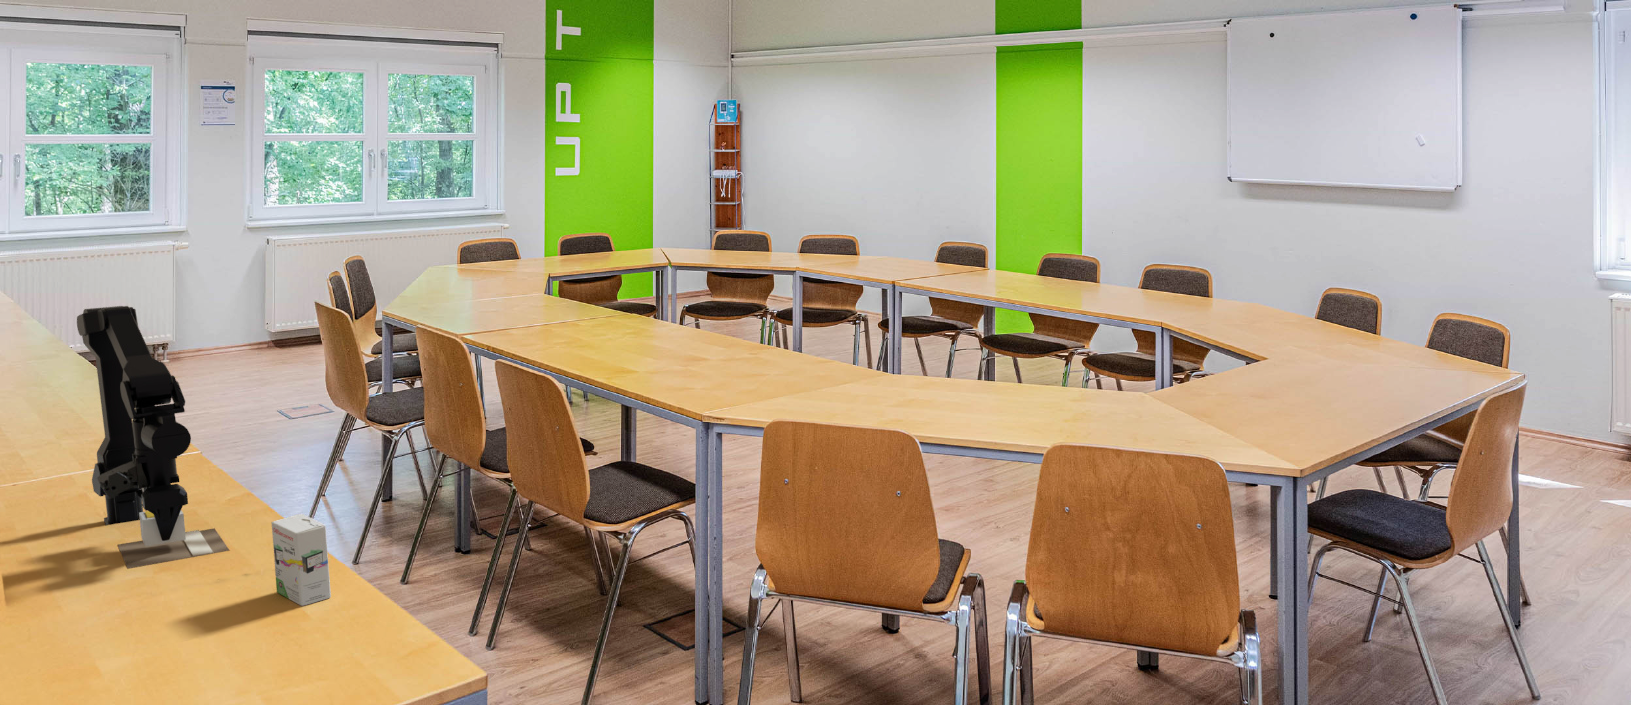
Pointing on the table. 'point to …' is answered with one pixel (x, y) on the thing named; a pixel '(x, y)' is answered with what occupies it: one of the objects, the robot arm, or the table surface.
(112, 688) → the table surface
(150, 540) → the block
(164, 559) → the subfloor board
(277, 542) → the ink box
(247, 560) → the table surface
